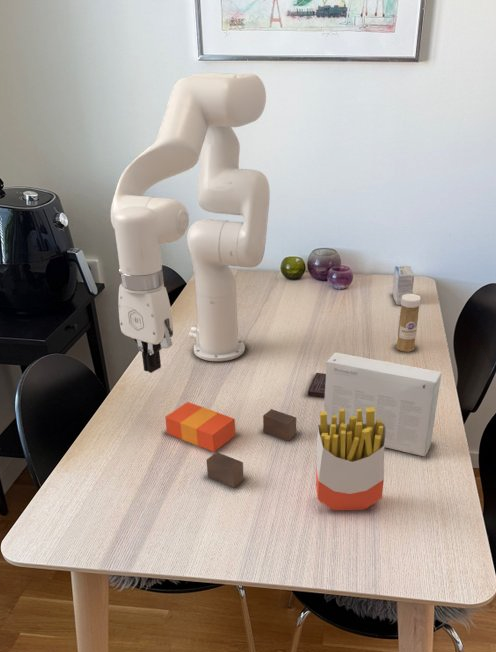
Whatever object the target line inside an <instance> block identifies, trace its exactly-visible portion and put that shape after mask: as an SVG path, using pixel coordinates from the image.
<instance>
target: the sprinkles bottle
mask: <svg viewBox="0 0 496 652" xmlns="http://www.w3.org/2000/svg"><path fill="white" fill-rule="evenodd" d="M421 301H422V297H421V296H420V295H418V294H415V293H412V294H405V295H403V296H402V297H401V305H400V313H399V317H398V318H399V319H398V327H397V342H396V349H397V350H398V351H400V352H404V353H405V352H407V353H410V352H413V351H414V350H415V348H416V347H415V344H416V337H417V330H418V321H419V310H420V306H421Z"/></svg>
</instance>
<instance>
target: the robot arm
mask: <svg viewBox="0 0 496 652" xmlns="http://www.w3.org/2000/svg"><path fill="white" fill-rule="evenodd" d="M266 103H267V91H266V86H265V84H264V82H263V80H262V79H261V78H260V77H259V76H258V75H256V74H253V73H235V72H234V73H232V72H231V73H230V72H229V73H228V72H199V73H195V74H191V75H189V76H186V77H183V78H179V79H178V80H177V81H176V82H175V83H174V85H173V86H172V88H171V91H170V94H169V98H168V101H167V104H166V107H165V110H164V114H163V117H162V120H161V123H160V127H159V130H158V133H157V136H156V139H155V141H154V143H153V144H151V145H150V146H149V147H147V148H146V149H144V150H143V151H142V152H141V153H140V154H139V155H138V156H137V157H136V158H135V159H133V160H132V161H131V162H130V163H129V164H128V165H127V166H126V168H125V169H124V170H123V171H122V172H121V175H120V177H119V180H118V182H117V184H116V187H115V190H114V195H113V198H112V201H111V206H110V221H111V226H112V228H113V230H114V235H115V243H116V251H117V259H118V266H119V270H118V274H119V275H120V279H121V283H120V284H119V285H118V286H119V288H118V297H117V298H118V319H119V327H120V331H121V333H122V334H123V335H124V336H126V337H128V338H131V339H132V340H134V341H135V343H136V344H137V347H138V350H139V352H140V353H141V358H142V364H143V371H144V372H148V373H150V374H152V373H154V372H155V371H157V370H159V369H161V367H162V364H161V363H162V362H161V355H160V354H161V353H160V352H161V350H163V349H169V348H171V347H172V346H173V341H172V337H174V319H173V313H172V308H171V303H170V299H169V295H168V291H167V287H166V286H165V284H164V283H165V282H164V274H163V264H162V254H161V253H162V252H161V246H162V245H165V244H169V243H170V244H171V243H174V242H177V241H178V240H180V239H182V238H183V236H184V235H185V234H186V232H187V234H186V244H187V250H188V253H189V257H190V261H191V264H192V270H193V278H194V279H193V280H194V290H195V303H196V315H197V326H195V325H192V326H191V327H190V331H189V332H188V335H187V336H188V337H189V338H191V339H195V341H196V342H195V343H194V345H193V353H194V355H195V356H196V357H197V358H199V359H201V360H204V361H207V362H227V361H232V360H235V359H237V358H239V357H241V356H242V355H243V354H244V353H245V350H246V344H245V342H244V341H242V340H241V339H240V338H239V325H238V323H239V321H238V301H237V283H236V282H237V281H236V277H235V275H234V273H233V271H232V269H231V268H230V267H236V268H237V267H238V268H256V267H258V266H259V265H261V263H262V261H263V258H264V256H265V250H266V242H267V233H268V232H267V231H268V221H269V211H270V200H271V197H270V196H271V191H270V184H269V180H268V178H267V176H266V174H265V173H263V172H262V171H260V170H257V169H250V168H249V169H248V168H240V152H241V145H240V142H239V138H238V136H237V134H236V132H235V131H234V129H233V128H239V127H243V126H246V125H249V124H251V123H254V122H256V121H257V120H259V118H261V116H262V115H263V113H264V110H265V108H266ZM198 162H199V166H198V167H199V168H198V183H197V201H198V204H199V206H200V209H202V210H203V211H205V212H208V213H212V214H213V213H214V214H221V215H233V216H242V217H243V221H233V220H225V219H213V218H205V219H199V220H196V221H194V222H193V223H192V224H191V225H190V227H189V224H190V216H189V215H190V214H189V211H188V209H187V207H186V206H185V205H184V204H183V203H182V202H181V201H179V200H177V199H173V198H168V197H155V196H144V194H145V193H146V192H147V191H148V190H149V189H151V187H153V186H155V185H156V184H157V183H159V182H162V181H164V180H166V179H169V178H172V177H175V176H178V175H179V174H182V173H184V172H185V173H186V172H187V171H189V170H190V169H192V168H194V167H195V166H196V165H197V164H198ZM187 230H188V231H187Z"/></svg>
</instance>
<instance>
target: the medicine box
mask: <svg viewBox="0 0 496 652" xmlns="http://www.w3.org/2000/svg"><path fill="white" fill-rule="evenodd" d="M414 281H415V274H414V273H413V270H412V268H411V266H410V265H396V266H395V267H394V272H393V281H392V283H393V284H392V297H393V299H394V303H395V305H397V306H401V297H402V296H403V295H405V294H414V293H413V292H414V290H413V289H414Z"/></svg>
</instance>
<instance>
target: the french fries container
mask: <svg viewBox="0 0 496 652" xmlns="http://www.w3.org/2000/svg"><path fill="white" fill-rule="evenodd" d="M356 420H357V422H356ZM374 420H375V410H374V407H369V408H366V424H363V419H362V410H361V409H357V418H356V416H351V417H350V420H349V424H345V409H340V411H339V424H337V415H332V423H331V425H327V411H325V412H324V411H319V424H317V439H316V440H317V445H316V446H317V447H316V470H315V488H316V496H317V500H318V501H319V502H320V503H322V504H323V505H325V506H326V507H327V508H329V509H330V510H332V511H363V510H365V511H366V509H368V508H369V507H372V505H374V504H375V503H377V502H378V501H380V500H381V499H382V498H383V489H384V481H385V478H384V477H385V448H386V447H385V437H386V428H385V425H384V423H382V419H376V424H374Z"/></svg>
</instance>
